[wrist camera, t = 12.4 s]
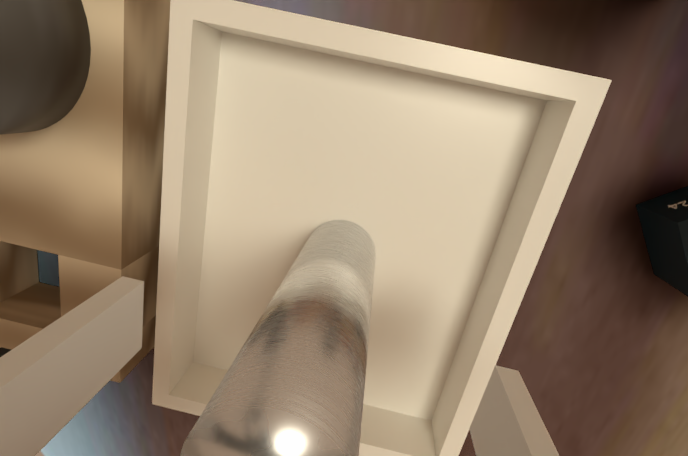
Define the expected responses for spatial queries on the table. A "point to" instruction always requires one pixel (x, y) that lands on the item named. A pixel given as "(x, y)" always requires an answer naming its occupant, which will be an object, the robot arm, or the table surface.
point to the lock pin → (300, 359)
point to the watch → (667, 236)
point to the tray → (357, 200)
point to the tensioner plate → (80, 155)
